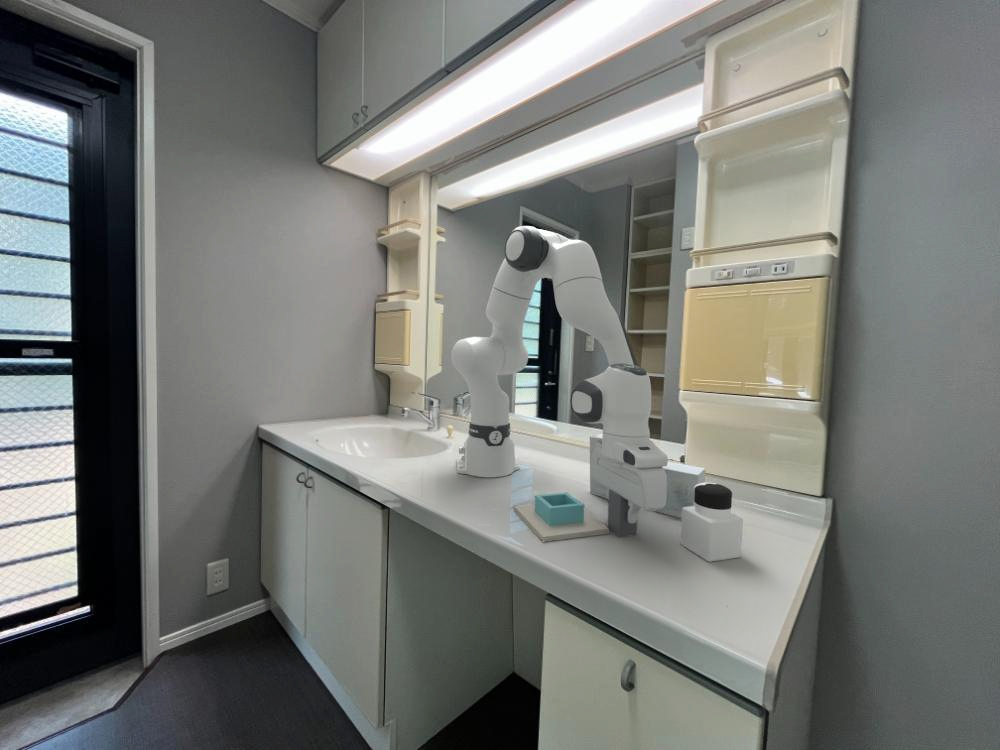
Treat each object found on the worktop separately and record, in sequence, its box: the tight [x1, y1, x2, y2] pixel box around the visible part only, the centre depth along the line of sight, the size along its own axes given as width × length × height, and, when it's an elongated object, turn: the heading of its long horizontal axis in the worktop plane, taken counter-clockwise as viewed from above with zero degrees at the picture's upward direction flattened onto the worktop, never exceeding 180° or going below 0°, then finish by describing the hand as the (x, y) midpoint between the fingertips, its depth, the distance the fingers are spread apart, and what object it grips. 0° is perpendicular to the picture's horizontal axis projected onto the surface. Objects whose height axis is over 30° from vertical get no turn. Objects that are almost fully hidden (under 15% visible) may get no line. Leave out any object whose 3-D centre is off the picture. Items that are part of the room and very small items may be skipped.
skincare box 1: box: [589, 433, 608, 500], centre depth 102 cm, size 8×6×15 cm
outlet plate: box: [513, 492, 610, 542], centre depth 87 cm, size 16×14×4 cm
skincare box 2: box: [656, 461, 706, 519], centre depth 93 cm, size 10×6×10 cm, turn 50°
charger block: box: [607, 490, 639, 538], centre depth 82 cm, size 4×4×10 cm
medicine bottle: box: [680, 482, 744, 563], centre depth 75 cm, size 7×7×12 cm
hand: (622, 516), depth 82 cm, fingers closed on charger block, 4 cm apart
